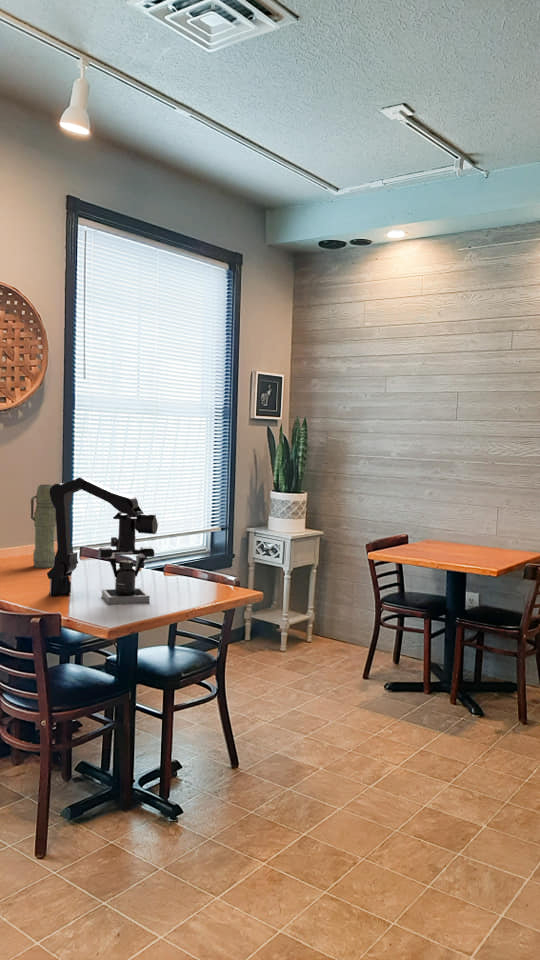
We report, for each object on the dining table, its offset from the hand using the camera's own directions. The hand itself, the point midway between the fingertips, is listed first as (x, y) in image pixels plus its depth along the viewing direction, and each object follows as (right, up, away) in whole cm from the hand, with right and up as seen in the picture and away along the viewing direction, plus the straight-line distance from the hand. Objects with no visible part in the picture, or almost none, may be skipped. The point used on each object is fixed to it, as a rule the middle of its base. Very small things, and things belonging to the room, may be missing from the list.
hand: (125, 576), depth 271 cm
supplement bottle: (0, -7, 0) cm, 7 cm away
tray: (0, -8, 0) cm, 8 cm away
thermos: (-46, -3, +61) cm, 76 cm away
